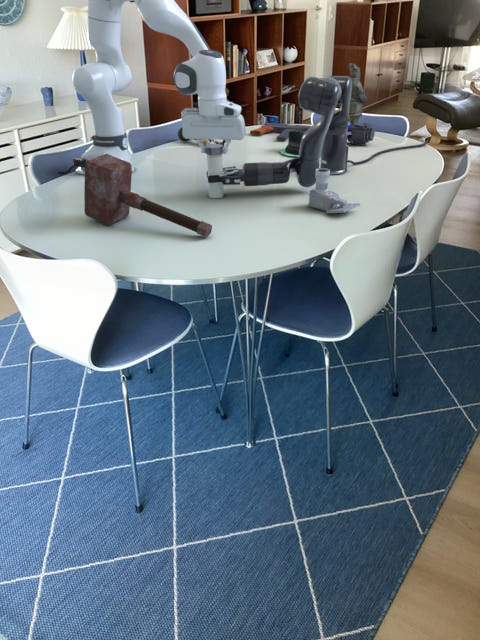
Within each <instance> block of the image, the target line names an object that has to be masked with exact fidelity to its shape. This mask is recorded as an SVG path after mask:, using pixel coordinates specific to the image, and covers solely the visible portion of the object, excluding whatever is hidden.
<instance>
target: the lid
mask: <svg viewBox="0 0 480 640" xmlns="http://www.w3.org/2000/svg"><path fill="white" fill-rule="evenodd" d="M204 147H205V153H204V154H205V155H206V156H207V155H221V154H222V148H223V147H224V146H223V145H221V144H216V143H211V144H209V145H208V144H207V145H204ZM222 155H223V154H222Z"/></svg>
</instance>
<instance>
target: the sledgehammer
mask: <svg viewBox="0 0 480 640" xmlns="http://www.w3.org/2000/svg"><path fill="white" fill-rule="evenodd" d="M132 165H133V164H132ZM132 165H131V164H130V163H129V162H127V161H124V160H122V159H119V158H116V157H114V156H111V155H109V154H104V155H101V156H99V157H96V158H93V159H90V160H87V161H86V163H85V175H84V193H83V194H84V197H83V199H84V200H83V201H84V215H85V216H86V217H88V218H90V219H92V220H95V221H97V222H99V223H101V224H104V225H107V226H112V225H114V224H115V223H118V222H119V221H121V220H123V219H125V218H127V217H129V216H130V208H132V209H137V210H139V211H141V212H143V211H144V212H146V213H149V214H151V215H154V216H156V217H159V218H160V219H163V220H166V221H168V222H171V223H173V224H175V225H178V226H180V227H183V228H184V229H187V230H190V231H193V232H195V233H196V234H198V235H200V236H202V237H205V238H208V237H209V236H210V235H211V233H212V230H213V224H211V223H208V222H205V221H203V220H201V221H200V220H198V219H196V218H193V217H190V216H188V215H185V214H183V213H181V212H179V211H176V210H174V209H171V208H168V207H166V206H164V205H161V204H159V203H157V202H155V201H151V200H149V199H148V198H146V197H143V196H141V195H139V193H136V192H132V174H133V171H132Z"/></svg>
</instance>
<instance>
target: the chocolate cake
mask: <svg viewBox="0 0 480 640" xmlns="http://www.w3.org/2000/svg"><path fill="white" fill-rule="evenodd" d="M308 129H309V128H298V129H294V130H291V131H289V137H288V139H287V140H288V141H287V142H288V143H287V145H286V146H285V147H283V148H281V149H280V150H279V153H280V154H282V155H285V156H289V157H296V158H297V157H299V150H300V144H301V139H302V137H303V135H304V133H305V132H306V131H307V130H308ZM320 157H321V155H320Z"/></svg>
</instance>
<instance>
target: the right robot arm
mask: <svg viewBox="0 0 480 640" xmlns="http://www.w3.org/2000/svg"><path fill="white" fill-rule="evenodd" d="M351 90H352V81H351V77H350V76H347V75H328V76H327V75H326V76H324V77H317V76H308V77H307V78H306V79H304V81H303V82H302V84H301V85H300V88H299V91H298V96H297V101H298V105H299V108H301V109H302V110H303V111H306V112H309V113H313V114H316V115H320V116H321V117H320V119H318V121H317V122H316V123H314V124H313V125H311V126H312V127H311V128H309V129H308V130H307V131H306V132H305V133H304V135H303V137H302V139H301V144H300V150H299V157H297V156H296V157H294V158H291V159H288V160H284V161H277V162H268V161H261V162H245V163H243V165H242V169H241V168H238V167H237V166H235V165H233V166H226V167H223V175H220V176H219V175H212V176H208V170H206V178H207V183H208V182H209V183H217V182H220V183H222V184H223V186H225V185H226V186H227V185H228V186H233V185H234V186H236V185H237V186H240V185H241V182H243V185H244V186H245V187H260V186H263V187H264V186H270V185H280V184H281V185H283V184H287V183H288V182H289V181H290V178H291V174H294V173H295V175H296V180H297V183H298V184H299V185H300V186H301V187H303V188H312V187H313V186H315V185H316V178H315V173H316V169H318V168H327V169H329V170H330V175H342V174H344V173H345V172H347V170H348V164H349V163H350V164H351V165H360V164H364V163H366V162H369V161H372V159H373V158H374V157H376V156H378V155H381V154H383V153H387V152H391V151H398V150H405V149H413V148H420V147H424V146H426V145H427V144H429V143H430V139H426V140H425V141H424V143H420V144H413V145H406V146H398V147H393V148H392V147H391V148H387V149H383V150H380V151H378V152H376V153H373V154H372V155H370V157H368V158H365V159H363V160H360V161H353V160H350V159H349V145H348V140H347V133H348V119H349V106H350V98H351ZM337 105H340V107H339V108H338V109H337ZM320 155H321V156H320Z"/></svg>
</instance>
